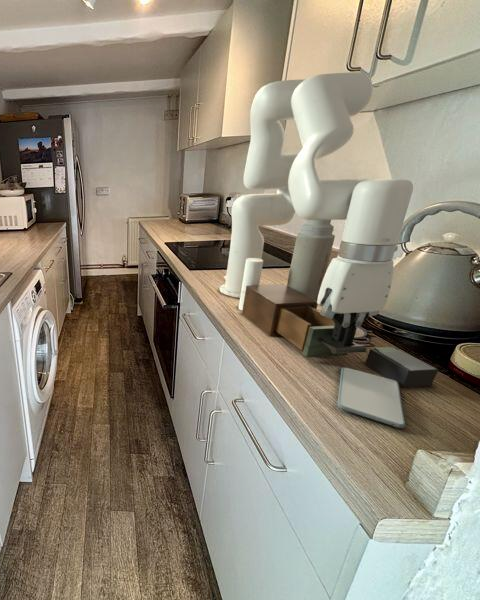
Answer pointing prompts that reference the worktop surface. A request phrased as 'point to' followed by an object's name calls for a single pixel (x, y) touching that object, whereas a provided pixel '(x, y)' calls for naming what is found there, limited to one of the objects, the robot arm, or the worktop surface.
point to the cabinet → (271, 304)
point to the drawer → (311, 332)
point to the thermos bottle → (311, 257)
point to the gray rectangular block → (401, 367)
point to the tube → (250, 276)
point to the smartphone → (371, 397)
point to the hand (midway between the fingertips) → (341, 342)
